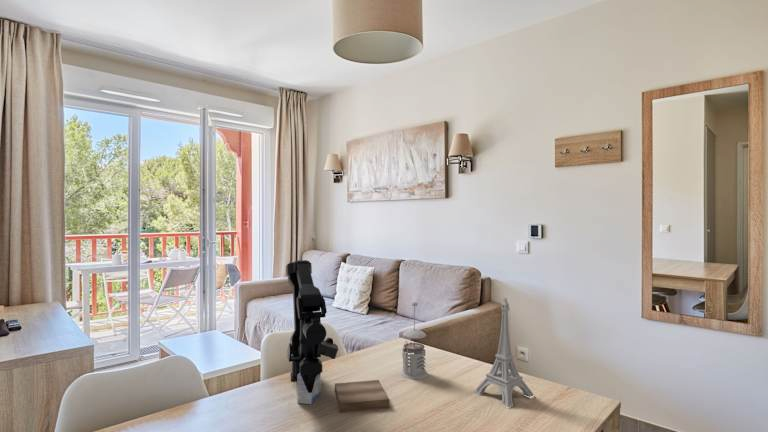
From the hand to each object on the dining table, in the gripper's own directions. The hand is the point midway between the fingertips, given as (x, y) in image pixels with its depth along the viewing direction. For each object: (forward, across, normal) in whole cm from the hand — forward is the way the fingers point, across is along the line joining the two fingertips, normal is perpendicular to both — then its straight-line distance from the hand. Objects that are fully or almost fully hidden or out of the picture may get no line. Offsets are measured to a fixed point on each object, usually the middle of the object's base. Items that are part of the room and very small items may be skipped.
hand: (309, 386), depth 124 cm
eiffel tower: (+4, -10, -59) cm, 60 cm away
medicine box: (+4, 0, 0) cm, 4 cm away
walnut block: (+4, -4, -15) cm, 16 cm away
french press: (+4, +11, -36) cm, 38 cm away
